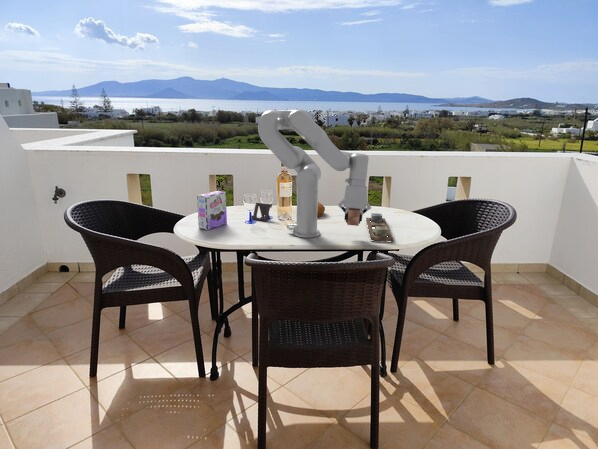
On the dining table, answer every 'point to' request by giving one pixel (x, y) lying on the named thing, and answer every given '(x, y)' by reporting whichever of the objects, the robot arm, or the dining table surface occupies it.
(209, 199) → the candy box
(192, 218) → the dining table surface
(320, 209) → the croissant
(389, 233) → the walnut puzzle base
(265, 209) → the portable electronic device stand
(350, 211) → the terracotta block
